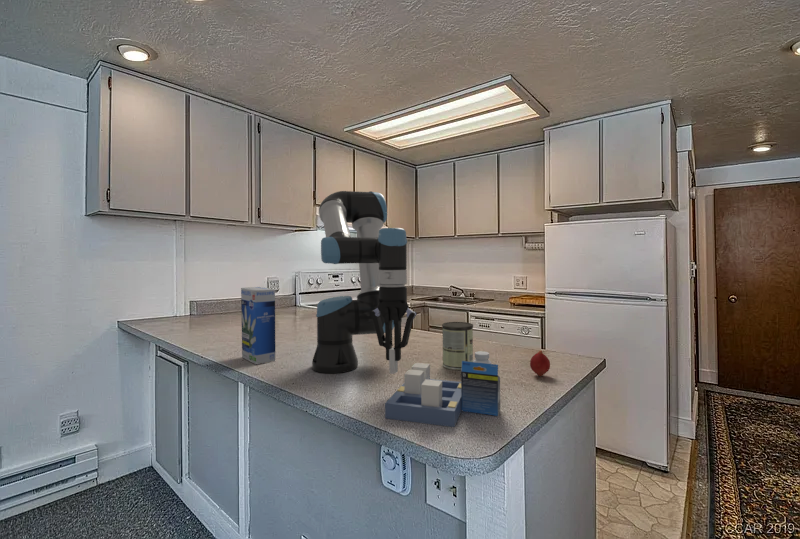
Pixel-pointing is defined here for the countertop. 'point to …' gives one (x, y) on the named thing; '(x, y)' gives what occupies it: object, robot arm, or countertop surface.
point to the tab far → (423, 369)
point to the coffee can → (457, 344)
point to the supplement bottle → (481, 359)
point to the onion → (540, 363)
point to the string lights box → (258, 324)
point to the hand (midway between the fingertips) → (393, 372)
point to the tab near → (431, 393)
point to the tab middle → (413, 381)
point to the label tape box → (480, 388)
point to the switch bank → (412, 410)
